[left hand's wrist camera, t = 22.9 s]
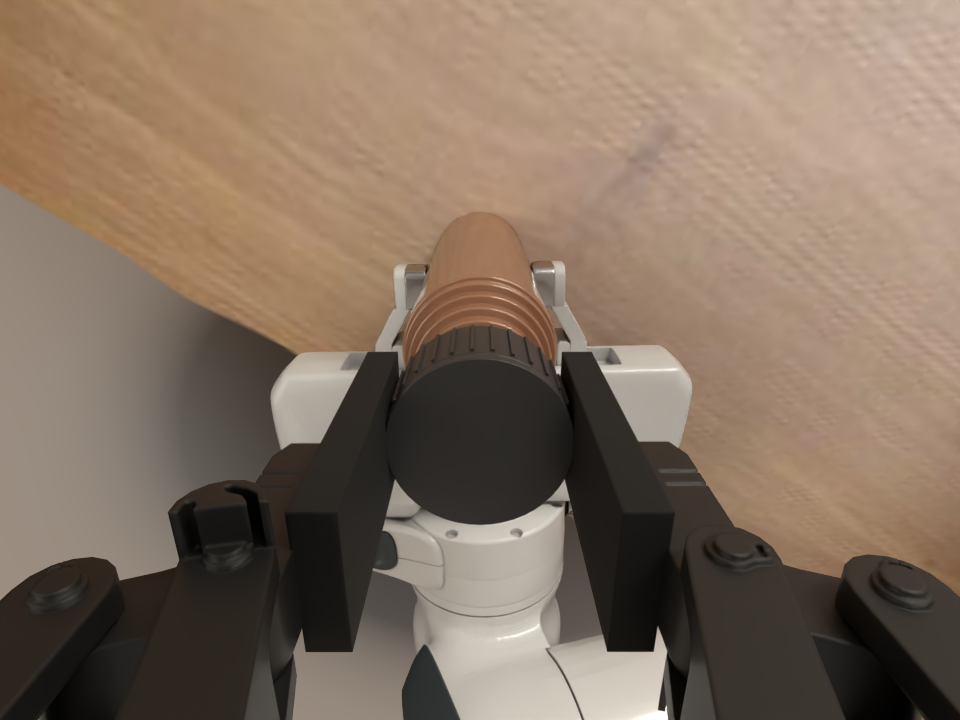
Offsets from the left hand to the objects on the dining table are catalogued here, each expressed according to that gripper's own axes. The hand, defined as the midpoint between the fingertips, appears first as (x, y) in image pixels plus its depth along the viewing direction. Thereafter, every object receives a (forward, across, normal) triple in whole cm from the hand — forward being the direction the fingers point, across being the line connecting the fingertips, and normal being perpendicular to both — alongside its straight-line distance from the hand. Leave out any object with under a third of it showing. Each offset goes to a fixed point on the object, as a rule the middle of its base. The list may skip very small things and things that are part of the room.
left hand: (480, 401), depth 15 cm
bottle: (+19, 0, 0) cm, 19 cm away
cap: (-2, 0, 0) cm, 2 cm away
